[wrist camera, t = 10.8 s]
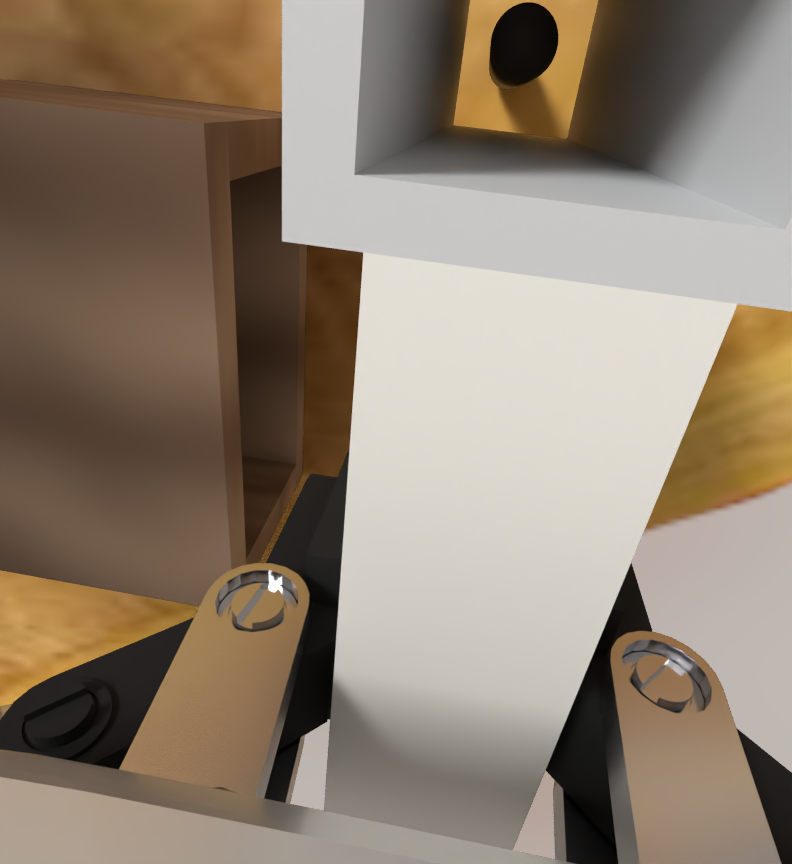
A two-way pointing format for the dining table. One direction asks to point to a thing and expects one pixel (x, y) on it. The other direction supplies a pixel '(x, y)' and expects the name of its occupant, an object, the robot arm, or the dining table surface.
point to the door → (517, 360)
